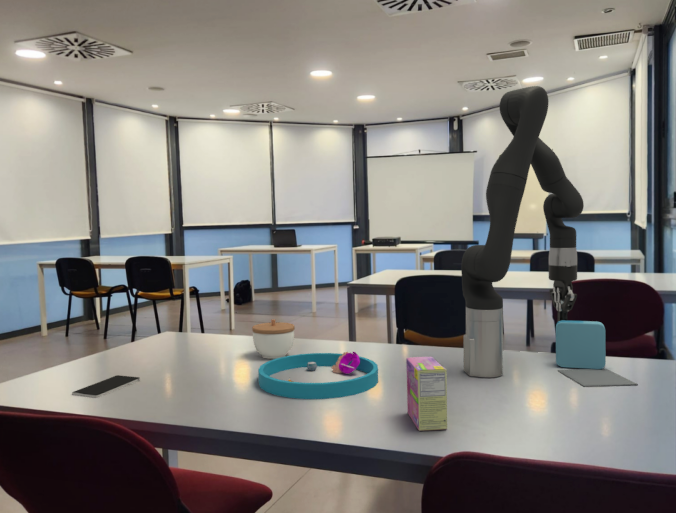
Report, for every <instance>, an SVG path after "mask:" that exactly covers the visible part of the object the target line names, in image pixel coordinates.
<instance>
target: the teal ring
mask: <svg viewBox="0 0 676 513" xmlns="http://www.w3.org/2000/svg"><path fill="white" fill-rule="evenodd" d="M378 366H379V365H378V364H377V363H376V362H375V361H374V360H372V359H369V358H367V357H363V356H360V355H358V354H357V352H356V351H352V352H348V351H345V352H343V353H334V352H315V353H314V352H312V353H299V354H291V355H286V356H285V357H281V358H276V359H271V360H267V361H266V362H264V363H263V364H261V365H260V366H259V368H258V370H257V371H258V372H257V373H258V374H257V376H258V385H259V388H260V389H261V390H263V391H264V392H266V393H269V394H272V395H274V396H278V397H283V398H289V399H298V400H299V399H300V400H328V399H337V398H339V399H340V398H346V397H350V396H356V395H358V394H362V393H365V392H368V391H370V390H371V389H373V388H375V387H376V386H377V384H378V383H379V367H378ZM318 367H331V370H332V372H333V373H334V374H338V375H340V374H347V375H349V374H351V373H353V372H354V371H356V370H357V371H361V372H364V373H366V374H364V375H361V376H358V377H355V378H350V379H345V380H339V381H326V382H301V381H293V380H292V379H290V378H291V377H289V378H288V379H287V380H283V379H278V378H276V377H272V375H275V374H277V373H281V372H285V371H288V370H293V369H299V368H301V369H302V368H307V370H308V371H310V372H314V371H315V370H316V369H317V368H318Z"/></svg>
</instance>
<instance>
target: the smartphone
mask: <svg viewBox="0 0 676 513" xmlns="http://www.w3.org/2000/svg"><path fill="white" fill-rule="evenodd" d="M140 380H141V378H140V377H139V376H130V375H129V376H127V375H114V376H111V377H108V378H106V379H104V380H101V381H99V382H95V383H93V384H90V385H88V386H84V387H82V388H80V389H77V390H74V391H72V392H71V394H72V396H77V397H85V398H93V399H97V398H98V399H99V398H102V397H104V396H106V395H108V394H110V393H114V392H116V391H119V390H120V389H123V388H124V389H125V388H126V387H128V386H132V385H133V384H136V383H138V382H141V381H140Z"/></svg>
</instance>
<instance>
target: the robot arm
mask: <svg viewBox="0 0 676 513" xmlns="http://www.w3.org/2000/svg"><path fill="white" fill-rule="evenodd" d="M548 111H549V95H548V93H547V91H546V90H545V88H544V87H542V86H540V85H534V86H527V87H522V88H517V89H513V90H509V91H507V92H505V93H504V94H503V95H502V96H501V99H500V101H499V113H500V116H501V119H502V121H503V122H504V125H505V126H506V127H507V129H508V131H510V134H511V135H512V136H513V137H512V139H511V141H510V142H509V143H508V146H506V148H505V149H504V150H503V152H501V154H500V155H499V157H498V158H497V159H496V161H495V163H494V164H493V166H492V168H491V171H490V174H489V178H488V183H487V184H486V190H485V199H486V201H485V202H486V205H487V209H488V215H489V229H488V234H487V237H486V238H487V239H486V241H485V244H474V245H471V246H469V247H468V248H467V249H465V251H464V252H463V255H462V258H461V266H460V267H461V268H460V271H461V286H462V289H461V290H462V296H463V298H464V302H465V334H463V371H464V372H465V373H466V374H467V375H468V376H469V377H477V378H478V377H479V378H497V377H500V376H503V373H504V372H503V368H504V366H503V362H504V361H503V359H504V358H503V356H504V355H503V348H504V344H503V341H504V340H503V338H504V335H503V332H504V331H503V330H504V329H503V328H504V326H503V324H504V322H503V320H504V319H503V318H504V316H503V315H504V314H503V312H504V311H503V310H504V308H503V307H504V304H503V302H504V300H503V297H502V296H501V295H500V294H499V293H498V292H497V291H496V290H495V288H494V285H493V283H498V282H501V280H503V279H504V278H505V277H506V275H507V273H508V271H509V268H510V263H511V260H512V253H513V245H514V238H515V232H516V231H515V230H516V228H517V227H516V226H517V222H518V217H519V213H520V209H521V204H522V200H523V197H524V194H525V190H526V185H527V181H528V177H529V172H530V167H531V168H532V170H533V172H534V174H535V176H536V179H537V181H538V184H539V187H540V188H541V190H543V191H544V192H546V193H549V194H548V195H547V196H546V198H544V201H543V205H542V206H543V207H542V208H543V214H544V217H545V221H546V225H547V228H548V232H549V250H548V251H549V252H548V280H550V281H553V283H552V284H553V285H552V286H553V287H552V288H550V289H549V291H548V292H549V296H550V298H551V302H552V304H553V307H554V308H555V309H556V311H557V323H558V322H559V321H561V320H567V321H568V312H570V311H572V310H573V307H574V305H575V302H576V300H577V297H578V294H577V293H574V292H573V290H574V289H573V288H574V287H573V283H572V282H575V281H577V279H578V252H577V229H576V228H575V227H573V226H568V225H566V224H565V223H564V221H563V219H571V218H573V219H574V218H577V217H579V216H580V215H581V214H582V213H583V210H584V199H583V196H582V195H581V193H580V192H579V190H578V189H577V188H576V187H575V186H574V184H573V183H572V182H571V181H570V179H569V178H568V177H567V175H566V172H565V171H564V168H563V166H562V163H561V160H560V159H559V157H558V156H557V154H556V152H554V150H553V149H552V148H550V147H549V145H548V144H546V142H544V141H543V140H542V139H541V138H540V134H541V131H542V129H543V126H544V123H545V120H546V118H547V114H548Z"/></svg>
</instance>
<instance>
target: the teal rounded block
mask: <svg viewBox="0 0 676 513" xmlns="http://www.w3.org/2000/svg"><path fill="white" fill-rule="evenodd" d="M555 325H556V326H555V362H556V364H557V366H559V367H561V368H567V369H605V367H606V362H607V361H606V359H607V358H606V354H607V353H606V349H607V348H606V327H605V325H604V324H603V323H602V322H600V321H597V320H596V321H593V320H592V321H590V320H568V319H567V320H561V321H559V322H558V321H557V322H556V324H555Z"/></svg>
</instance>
